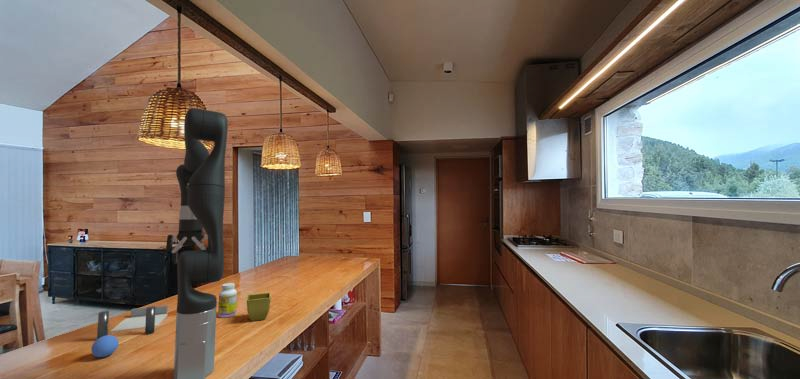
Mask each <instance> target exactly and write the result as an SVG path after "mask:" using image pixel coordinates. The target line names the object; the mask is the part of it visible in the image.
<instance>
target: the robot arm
mask: <svg viewBox="0 0 800 379" xmlns="http://www.w3.org/2000/svg"><path fill="white" fill-rule="evenodd" d="M228 123H229V122H228V117H227V115H226V114H224V113H222V112H220V111H219V112H218V111H213V110H207V109H202V108H194V107H192V108H189V109H188V110H187V111H186V112H185V117H184V125H183V126H184V127H183V135H184V146H185V155H184V159H183V163H181V164H180V165H178V166H177V168H176V171H175V173H176V174H175V175H176V178H177V182H178V184H179V189H180V208H179V214H178V215H179V218H178V233H177V234H168V235H167V237H166V244H165V245H166V246H165V251H166V252H170V253H171V262H172V263H173V264H174V265H175V264H177V273H176V274H177V300H176V302H177V304H176V316H175V317H176V320H175V339H174V357H173V358H174V359H173V361H174V362H173V364H174V365H173V379H206V377H207V376H209V375H210V374H212V373H213V372H214V369H215V359H216V358H215V355H216V326H217V306H218V305H217V303H218V300H217V299H218V298H217V296H216V295H214V294H212V293H207V292H202V291H200V290H197V289H195V288H194V287H193V286H192V285H200V284H211V283H217V282H220V281H221V280H222V278H223V276H224V270H225V253H224V252H225V251H224V250H225V249H224V248H225V247H224V246H225V245H224V212H225V197H226V196H225V195H226V193H225V192H226V191H225V190H226V187H225V186H226V185H225V184H226V180H225V177H226V176H225V174H226V171H225V169H226V168H225V167H226V166H225V165H226V164H225V163H226V162H225V161H226V150H227V140H228V139H227V138H228V130H229V129H228V128H229V127H228V126H229V125H228ZM201 141H205V142H207V141H208V142H213V143H214V145H213V148H212V149H211V152H210V153H209V149H208V148H207V147H206V145H205V144H204V143H203V142H201ZM204 231H205V233H204ZM204 238H205V240H207V246H206V245H205V244H204V243H203V241H202V240H203V239H204ZM176 239H177V241H178V243H177V244H176V246H175V247H174V248H173V244H174V241H175V240H176ZM189 246H192V247H195V246H197V247H198V248H199V249H196V250H195V249H194V250H184V251H182V252H181V253H180V254H179V250H180V249H181V248H182V247H189Z"/></svg>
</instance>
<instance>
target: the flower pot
mask: <svg viewBox="0 0 800 379" xmlns="http://www.w3.org/2000/svg"><path fill="white" fill-rule="evenodd" d="M271 296H272V295H271V293H270V292H263V293H255V294H254V293H253V294H247V296H246V306H247V307H246V308H247V309H246V310H247V315H248V318H249V320H250V321H251V322H255V321H256V322H257V321H261V320H263V321H264V320H266V318H267V317H268V314H269V312H270V308H271V299H272V297H271Z"/></svg>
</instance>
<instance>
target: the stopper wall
mask: <svg viewBox="0 0 800 379" xmlns="http://www.w3.org/2000/svg"><path fill="white" fill-rule="evenodd" d="M168 306H169V305H158V306H155V315H162V314H168ZM146 308H147V306H146V307H137V308H132V309H131V310H130V318H135V317H144V316H146Z"/></svg>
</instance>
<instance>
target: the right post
mask: <svg viewBox="0 0 800 379" xmlns="http://www.w3.org/2000/svg"><path fill="white" fill-rule="evenodd" d="M146 307H147V306H146ZM146 307H145V308H146ZM155 307H156V306H153V305H151V306H148V307H147V308H146V324H145V328H144V329H145V330H144V335H147V336H148V335H152V334H154V333H155V327H156V326H155Z"/></svg>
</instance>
